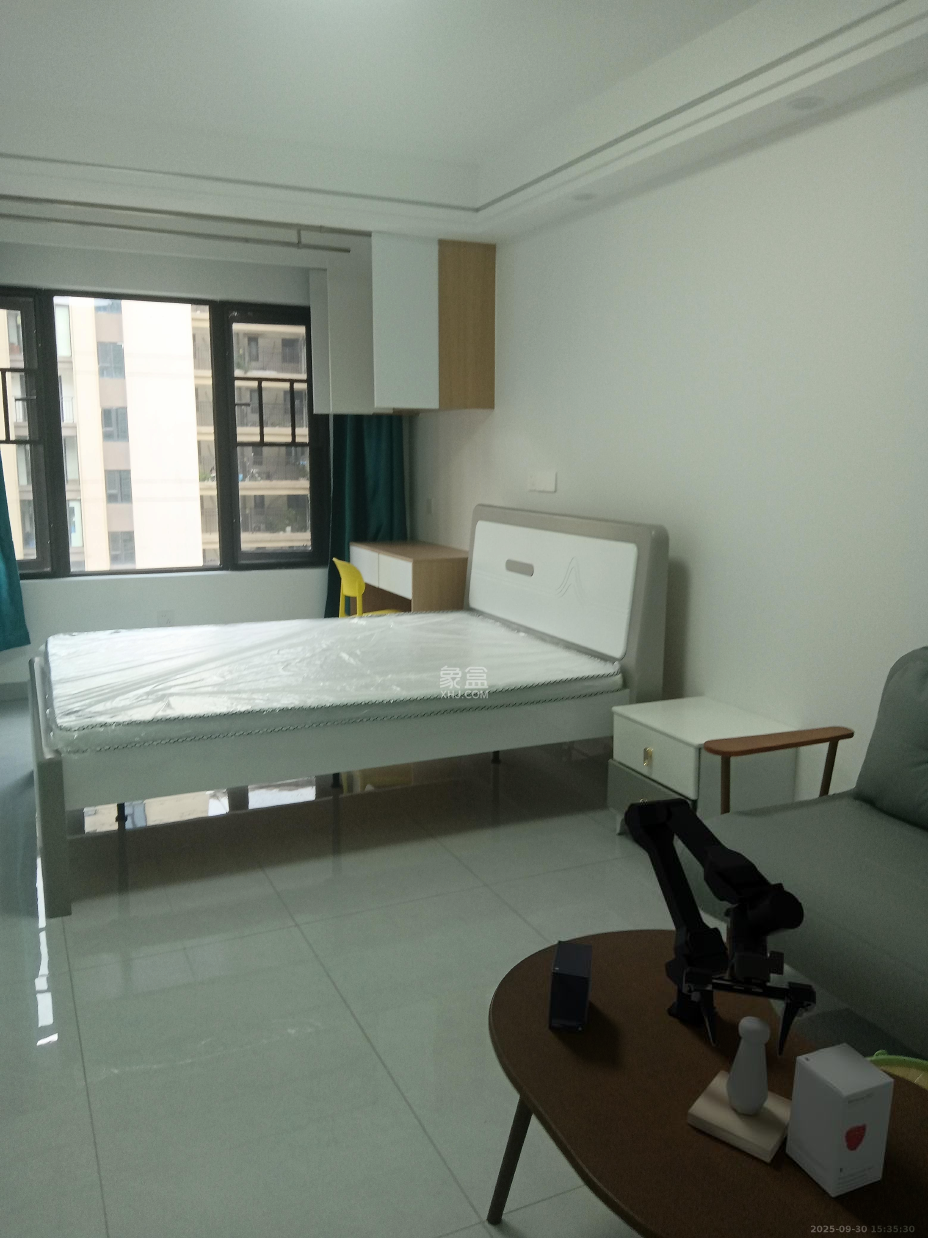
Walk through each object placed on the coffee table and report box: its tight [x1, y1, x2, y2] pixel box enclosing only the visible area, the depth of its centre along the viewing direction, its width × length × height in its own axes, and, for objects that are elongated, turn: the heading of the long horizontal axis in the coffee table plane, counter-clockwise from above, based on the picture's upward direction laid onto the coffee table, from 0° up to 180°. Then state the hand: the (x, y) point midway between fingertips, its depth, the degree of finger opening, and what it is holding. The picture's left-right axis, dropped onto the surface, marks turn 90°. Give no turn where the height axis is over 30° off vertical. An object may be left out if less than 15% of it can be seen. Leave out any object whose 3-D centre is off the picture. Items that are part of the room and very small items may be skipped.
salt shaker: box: [726, 1016, 771, 1115], centre depth 135 cm, size 6×6×13 cm
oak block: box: [686, 1069, 792, 1163], centre depth 136 cm, size 12×12×2 cm
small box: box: [547, 940, 593, 1034], centre depth 160 cm, size 11×6×10 cm, turn 168°
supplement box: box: [785, 1042, 895, 1198], centre depth 127 cm, size 9×9×15 cm
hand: (746, 1050), depth 137 cm, fingers open, 9 cm apart
